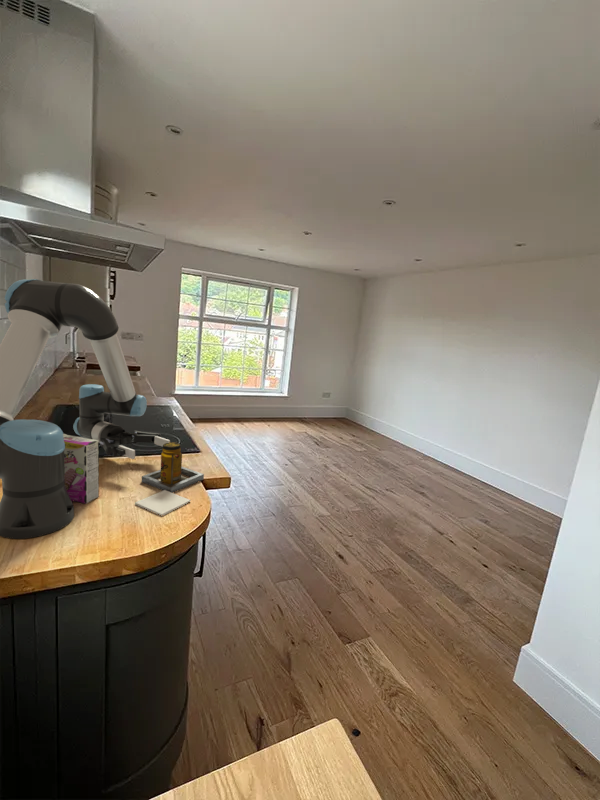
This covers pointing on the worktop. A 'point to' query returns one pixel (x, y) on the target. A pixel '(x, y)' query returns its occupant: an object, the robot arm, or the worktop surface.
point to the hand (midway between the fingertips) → (152, 449)
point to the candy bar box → (81, 468)
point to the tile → (162, 502)
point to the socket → (194, 478)
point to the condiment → (171, 463)
